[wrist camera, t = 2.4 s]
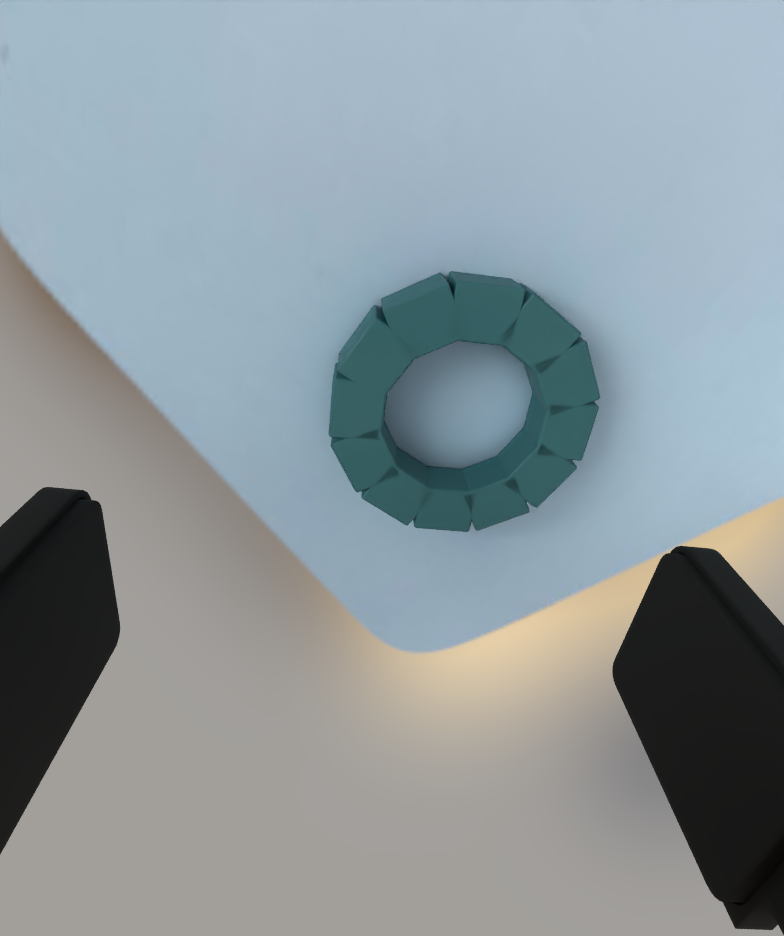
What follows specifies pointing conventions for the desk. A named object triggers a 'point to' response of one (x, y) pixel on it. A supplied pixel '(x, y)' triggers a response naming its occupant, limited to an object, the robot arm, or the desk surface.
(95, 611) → the robot arm
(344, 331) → the desk surface
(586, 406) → the teal segmented ring
